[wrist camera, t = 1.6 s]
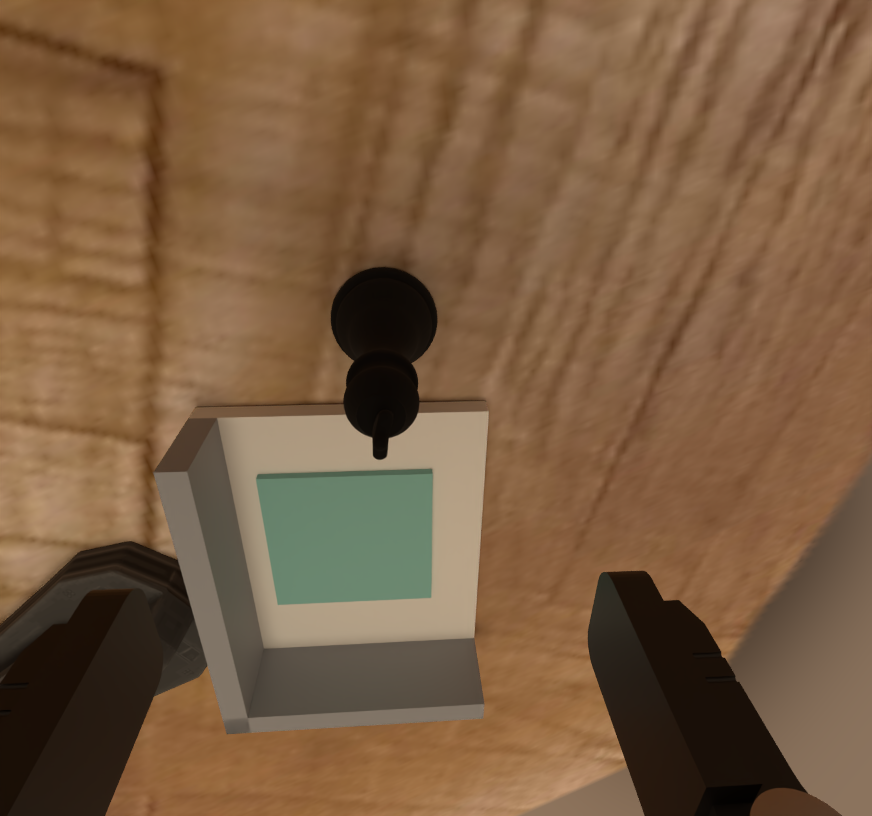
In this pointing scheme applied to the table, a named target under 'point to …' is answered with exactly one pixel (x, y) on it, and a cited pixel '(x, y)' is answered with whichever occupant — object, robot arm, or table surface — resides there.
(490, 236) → the table surface
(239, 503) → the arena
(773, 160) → the table surface
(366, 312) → the chess piece
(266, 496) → the pad
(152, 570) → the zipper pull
